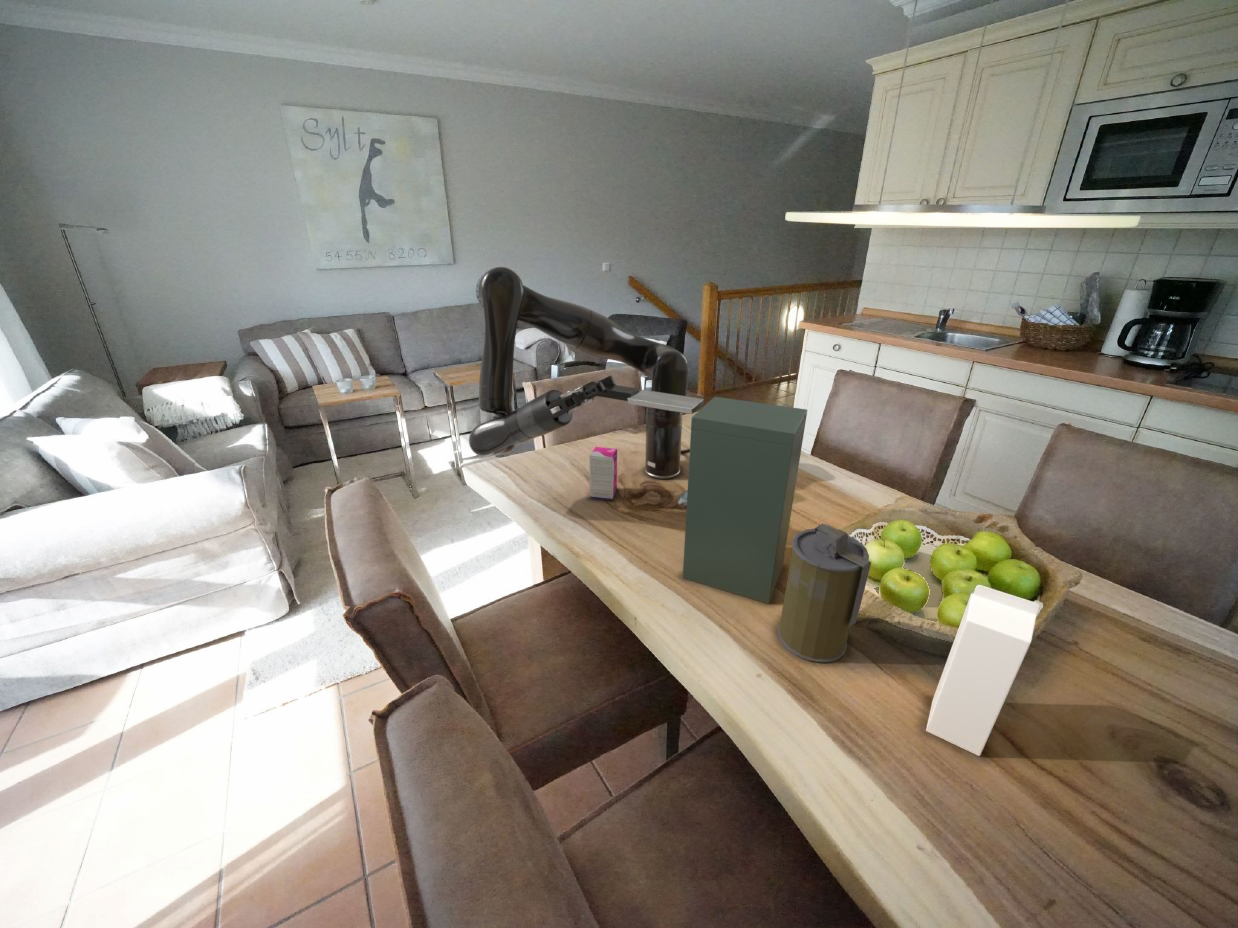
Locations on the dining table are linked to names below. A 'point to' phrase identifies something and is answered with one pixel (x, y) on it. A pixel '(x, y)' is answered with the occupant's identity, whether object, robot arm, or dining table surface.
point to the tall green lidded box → (741, 494)
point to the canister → (822, 593)
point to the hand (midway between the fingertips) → (607, 383)
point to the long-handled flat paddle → (651, 398)
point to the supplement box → (603, 473)
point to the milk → (981, 667)
